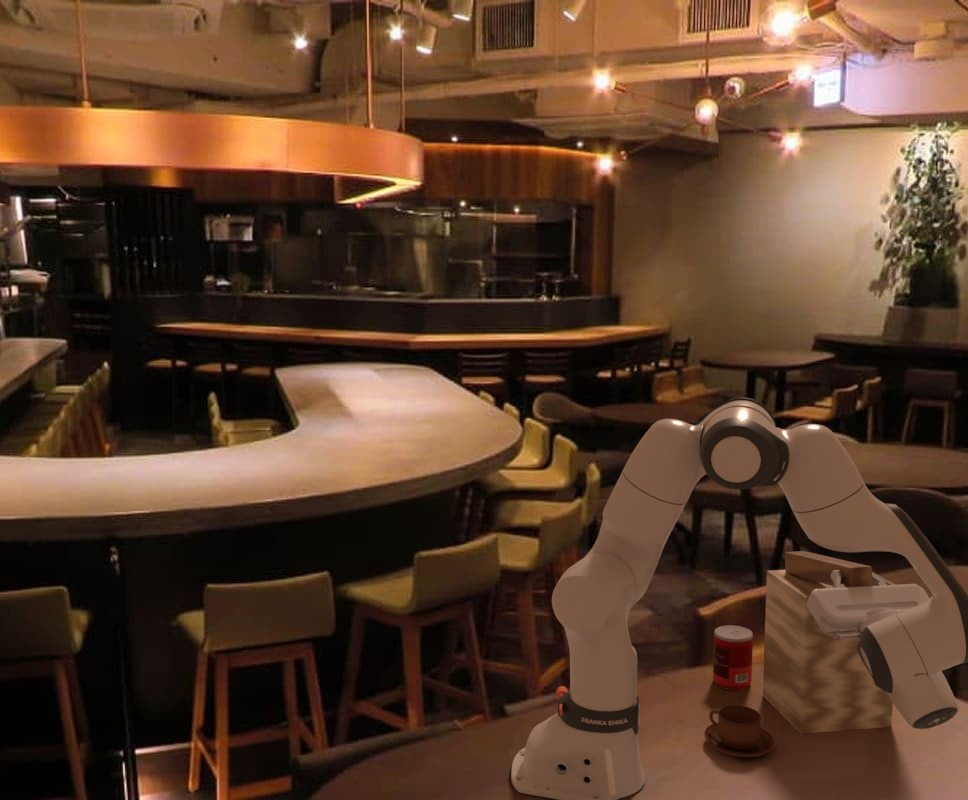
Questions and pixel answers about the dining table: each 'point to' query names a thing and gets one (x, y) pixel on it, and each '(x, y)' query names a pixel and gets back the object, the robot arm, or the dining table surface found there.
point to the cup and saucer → (738, 732)
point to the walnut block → (827, 569)
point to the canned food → (732, 657)
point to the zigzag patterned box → (815, 665)
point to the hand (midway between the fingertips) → (850, 571)
